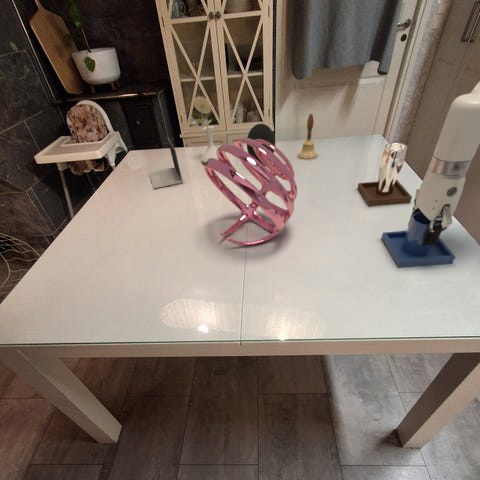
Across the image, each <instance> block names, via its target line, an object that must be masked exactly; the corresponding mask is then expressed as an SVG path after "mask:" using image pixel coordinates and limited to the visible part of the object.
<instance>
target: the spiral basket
mask: <svg viewBox="0 0 480 480" xmlns="http://www.w3.org/2000/svg"><path fill="white" fill-rule="evenodd" d="M243 143H244V144H246V145H247V144H248V145H250V146H252V147H253V149H254V151H255V153H256V155H257V156H258V158H259V159H260V160H261V161H262V163H260V162H259V161H258V160H257V159H255V158H254V157H253V156H251V155H250V154H249V153H248V151H246V150H245V149H244V146H243V145H244V144H243ZM262 144H264V145H266V146H268V147H270V148H271V149H272V150H274V154H273V153H272V152H271V151H270V150H269V149H267V148H266V147H265V146H263V145H262ZM217 149H218V150H217V158H218V160H217V159H214V158H210V159H209V160H208V161H207V162H206V163H204V167H203V170H204V172H205V174H206V176H207V177H208V179H209V180H210V181H211V183H212V184H213V185H214V186H215V187H216V188H217V189H218V191H219V192H220V193H221V194H222V195H223V196H224V197H225V198H226V199H227V200H228V201H229V202H231V204H232V205H234V206H235V207H236V208H237V209H238V210H239V211H240V212H241V215H240V216H239V218H237V219H236V221H235V222H234V223H233V224H231V226H230V227H228V228H227V229H226V230H224V231H223V232H221V233H219V236H220V237H223V236H228V235H230V234H232V233H234V232H235V231H237V230H238V229H239V228H240V227H242V226H243V225H244V224H245V223H246V222H247V221H248V220H251V221H253V222H254V223H256V224H257V225H258V226H261V227H262V228H263V229H265V230H267V231H269V232H271V233H270V234H268V235H267V236H265V237H263V238H260V239H257V240H254V241H239V240H235V239H233V238H229V237H226V238H225V240H226V241H227V242H229V243H232V244H235V245H240V246H254V245H258V244H262V243H264V242H266V241H268V240H270V239H272V238H274V236H276V235H277V234H279V233H281V231H283V229H284V227H285V225H286V224H287V222H288V221H289V219H290V218H291V217H292V216H293V214H294V210H295V200H296V199H297V196H298V185H297V182H296V180H295V169H294V168H293V164H292V163H291V161H290V160H289V158H288V157H287V156H286V154H284V153H283V152H282V150H280V149H279V148H278V147H277V146H276V145H275V146H274V145H273V144H271V143H269V142H268V141H265V140H262V139H255V140H253V139H250V138H247V137H238V138H236V139H235V140H234V141H233V144H232V143H224V144H222V145H221V146H219V147H217ZM226 153H228V154H230V155H232V156H234V157H235V158H237V159H238V160H239V161H240V162H241V164H242V165H243V166H244V168H245V169H247V171H248V172H249V173H250V174H251V176H253V178H255V180H257V181H258V183H260V184H261V188H260V189H258V188H257V187H256V186H255V185H254V184H253V183H251V182H250V180H248V179H247V178H246V177H245V176H243V175H242V174H241V173H239V172H238V171H237V169H236V168H235V167H234V166H233V165H232V163H231V161H230V160H229V158H228V156H227V154H226ZM275 153H276V154H277V155H278V156H279V157H280V158H281V159H282V160H283V162H282V161H281V159H280V158H278V156H277V155H276V154H275ZM217 173H219V174H220V175H221V176H223V177H225V178H226V179H227V180H229V181H230V182H231V183H232V184H233V185H235V186H236V187H237V188H239V189H240V190H241V191H242V192H243V193H245V194H246V195H247V196H248V197H249V198H250V199H251V202H250V203H249V204H246V203H245V202H244V201H242V199H241V198H240V197H238V196H237V195H236V194H235V193H234V192H233V191H232V190H231V189H230V188H229V187H228V186H227V184H225V182H224V181H223V180H222V179H221V178H220V177H219V176H218V174H217ZM277 177H278V178H280V179H282V180H284V181H286V182H288V183H289V185H290V190H288V189H286V187H285V186H284V185H283V184H282V183H281V181H280V180H279V179H278V178H277ZM268 192H271V193H273V194H274V195H275V196H277V197H279V198H280V199H281V200H282V202H283V203H284V205H285V207H286V209H285V208H282V207H280V206H278V205H276V204H275V203H273V202H271V201H270V200H269V199H268V197H266V196H267V193H268ZM258 208H260V209H261V210H262V211H263V212H264V213H265V214H266V215H267V216H268V218H270V220H271V221H272V222H270V221H269V220H268V219H265V218H264V217H263V216H261V214H258V212H257V209H258Z"/></svg>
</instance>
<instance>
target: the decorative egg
mask: <svg viewBox="0 0 480 480" xmlns="http://www.w3.org/2000/svg"><path fill="white" fill-rule="evenodd" d="M246 138H250V139H253V140H255V139H262V140H265V141H268V142H269V143H271V144H273V145H274V146H275V147H276V137H275V134H274V132H273V130H272V129H271V128H270V127H269V126H268V125H267V124H265V123H257V124H255V125H253V126H252V127H251V128H250V130H249V132H248V134H247V136H246ZM262 145H263V146H265V147H266V148H267V149H269V150H270V151H271V152H272V153H273V154H274V155H275V151H274V150H272V149H271V148H270V147H268V146H266V145H264V144H262ZM246 149H247V153H249V154H250V155H251V156H253V157H254V158H255V159H257V160H258V161H259V162H260V163H261V164H263V163H262V161H261V160H260V159H259V158H258V156H257V155H256V153H255V151H254V149H253V147H252V146H250V145H248V144H246Z"/></svg>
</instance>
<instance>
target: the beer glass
mask: <svg viewBox="0 0 480 480" xmlns="http://www.w3.org/2000/svg"><path fill="white" fill-rule="evenodd" d="M383 146H384V147H383V150H382V153H381V156H380V160H379V166H378V176H377V177H378V178H377V182H378V183H377V186H376V189H375V191H374V195H375V196H377V197H380V198H388V197H391V196H392V195H393V187H394V184H395V181H396V180H398V177H399V175H400V172H401V171H402V168H403V165H404V162H405V158H406V155H407V149H408V145H407V144H405V143H401V142H391V143H386V144H385V145H383Z"/></svg>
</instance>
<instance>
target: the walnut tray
mask: <svg viewBox="0 0 480 480" xmlns="http://www.w3.org/2000/svg"><path fill="white" fill-rule="evenodd" d="M377 183H378V181H369V182H358V184H357V191H358V193H359V194H360V195H361V197H362V199H363V201H364V203H365V205H367V207H378V206H391V205H402V204H410V203H411V201H412V198H413V196H412V195H411V194H410V193H409V191H407V189H406V188H405V186H403V185H402V184H401V182H400V181H399V180H398V179H396V181H395V184H394V187H393V195H392V196H391V197H388V198H380V197H377V196H375V195H374V191H375V189H376V186H377Z"/></svg>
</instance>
